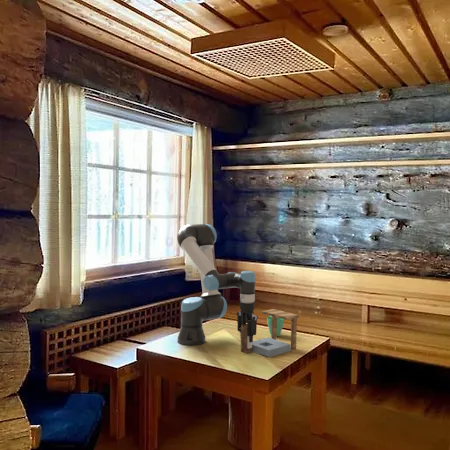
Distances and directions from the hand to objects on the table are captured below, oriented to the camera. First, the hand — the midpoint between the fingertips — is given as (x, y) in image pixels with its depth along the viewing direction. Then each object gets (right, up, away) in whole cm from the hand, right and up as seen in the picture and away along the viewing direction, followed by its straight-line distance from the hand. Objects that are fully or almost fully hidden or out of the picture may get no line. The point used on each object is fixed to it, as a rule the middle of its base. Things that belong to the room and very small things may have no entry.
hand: (246, 346), depth 253 cm
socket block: (+12, -3, +4) cm, 12 cm away
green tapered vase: (+17, -1, +34) cm, 38 cm away
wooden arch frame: (+18, -2, +9) cm, 21 cm away
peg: (0, -3, 0) cm, 3 cm away
